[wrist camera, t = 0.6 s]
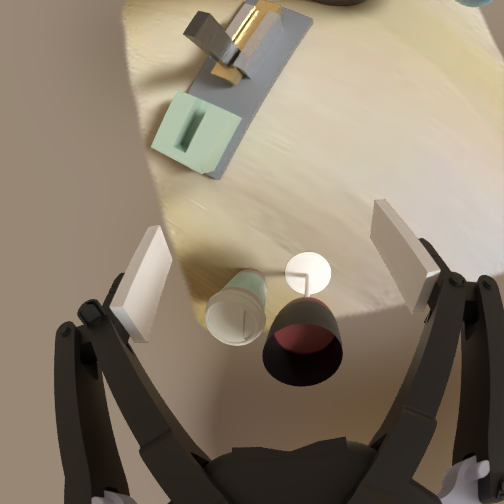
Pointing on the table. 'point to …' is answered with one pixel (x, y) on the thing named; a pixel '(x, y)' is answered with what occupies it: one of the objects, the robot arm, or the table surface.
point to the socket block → (195, 132)
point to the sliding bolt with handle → (226, 39)
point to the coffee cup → (238, 309)
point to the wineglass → (304, 328)
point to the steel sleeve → (254, 39)
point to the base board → (249, 81)
